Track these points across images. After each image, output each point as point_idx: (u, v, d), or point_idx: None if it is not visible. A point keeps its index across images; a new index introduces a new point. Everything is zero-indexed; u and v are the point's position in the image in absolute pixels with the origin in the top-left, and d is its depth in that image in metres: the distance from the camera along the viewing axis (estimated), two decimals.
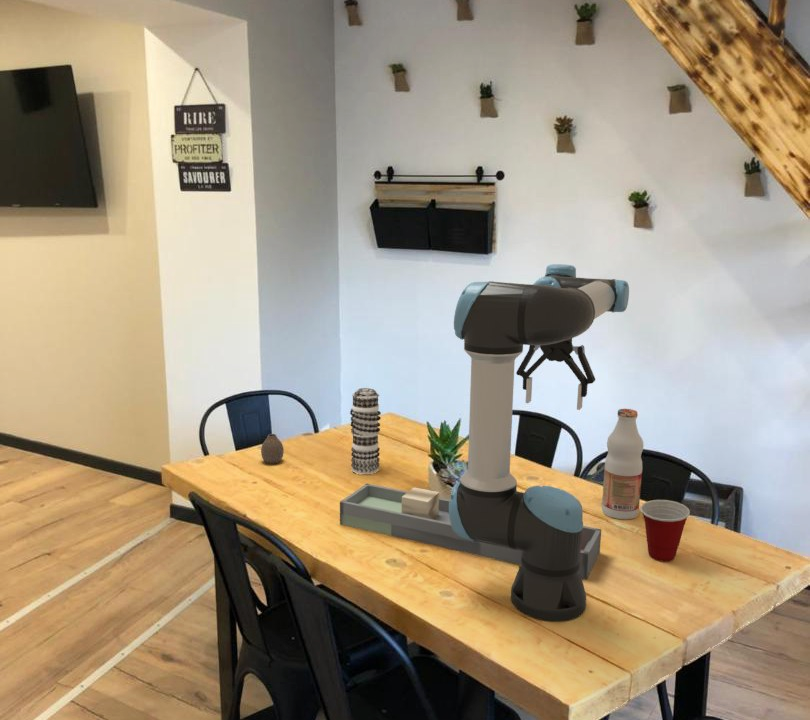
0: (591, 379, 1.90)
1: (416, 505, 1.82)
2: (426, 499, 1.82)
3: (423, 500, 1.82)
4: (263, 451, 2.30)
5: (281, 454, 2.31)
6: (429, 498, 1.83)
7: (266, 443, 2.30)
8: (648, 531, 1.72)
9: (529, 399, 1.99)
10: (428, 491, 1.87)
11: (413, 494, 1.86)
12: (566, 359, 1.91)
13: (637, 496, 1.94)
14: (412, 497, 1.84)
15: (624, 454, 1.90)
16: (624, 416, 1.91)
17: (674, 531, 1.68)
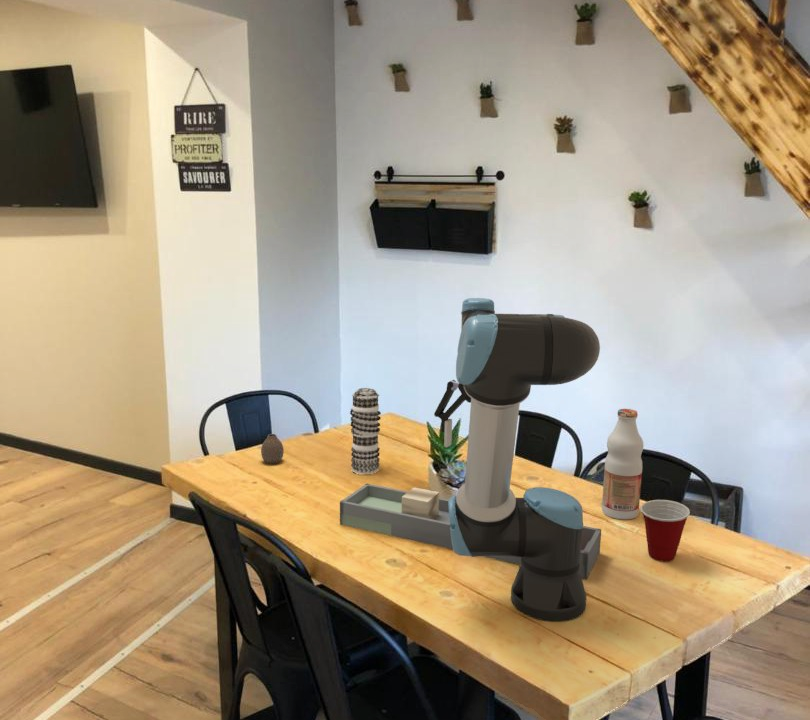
0: None
1: (416, 505, 1.82)
2: (426, 499, 1.82)
3: (423, 500, 1.82)
4: (263, 451, 2.30)
5: (281, 454, 2.31)
6: (429, 498, 1.83)
7: (266, 443, 2.30)
8: (648, 531, 1.72)
9: (448, 443, 1.83)
10: (428, 491, 1.87)
11: (413, 494, 1.86)
12: None
13: (637, 496, 1.94)
14: (412, 497, 1.84)
15: (624, 454, 1.90)
16: (624, 416, 1.91)
17: (674, 531, 1.68)
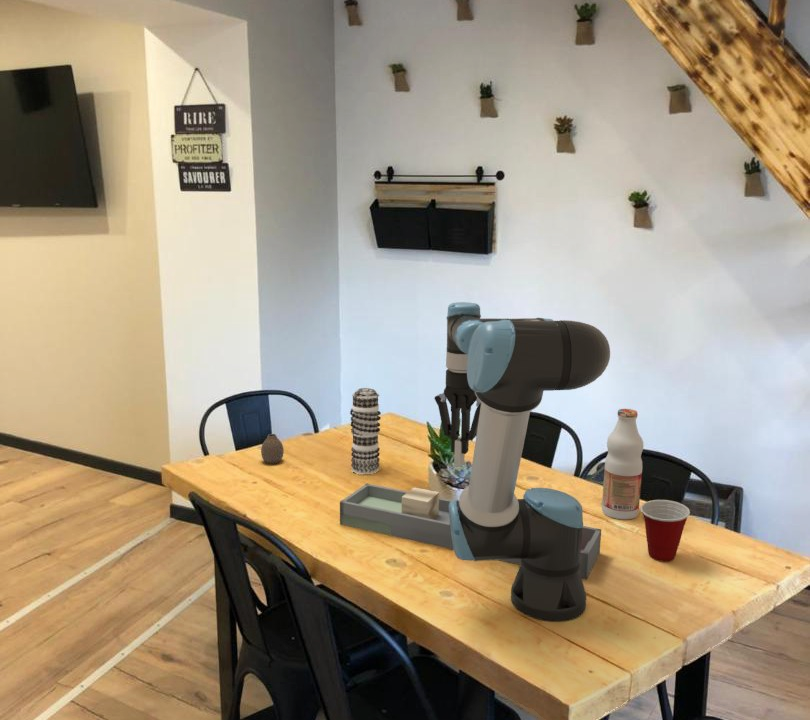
0: (472, 436, 1.75)
1: (416, 505, 1.82)
2: (426, 499, 1.82)
3: (423, 500, 1.82)
4: (263, 451, 2.30)
5: (281, 454, 2.31)
6: (429, 498, 1.83)
7: (266, 443, 2.30)
8: (648, 531, 1.72)
9: None
10: (428, 491, 1.87)
11: (413, 494, 1.86)
12: (464, 409, 1.74)
13: (637, 496, 1.94)
14: (412, 497, 1.84)
15: (624, 454, 1.90)
16: (624, 416, 1.91)
17: (674, 531, 1.68)
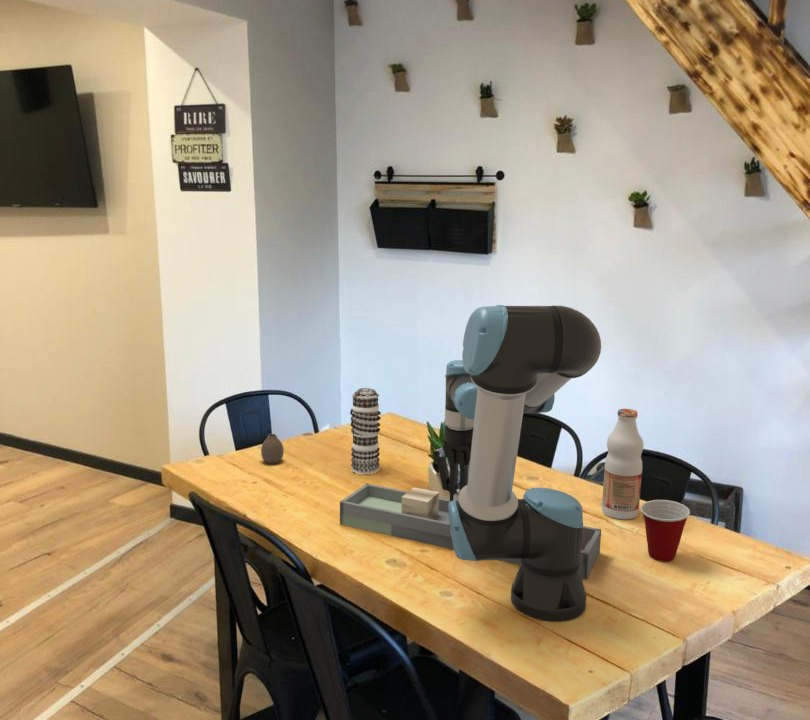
0: None
1: (416, 505, 1.82)
2: (426, 499, 1.82)
3: (423, 500, 1.82)
4: (263, 451, 2.30)
5: (281, 454, 2.31)
6: (429, 498, 1.83)
7: (266, 443, 2.30)
8: (648, 531, 1.72)
9: None
10: (428, 491, 1.87)
11: (413, 494, 1.86)
12: (462, 465, 1.77)
13: (637, 496, 1.94)
14: (412, 497, 1.84)
15: (624, 454, 1.90)
16: (624, 416, 1.91)
17: (674, 531, 1.68)
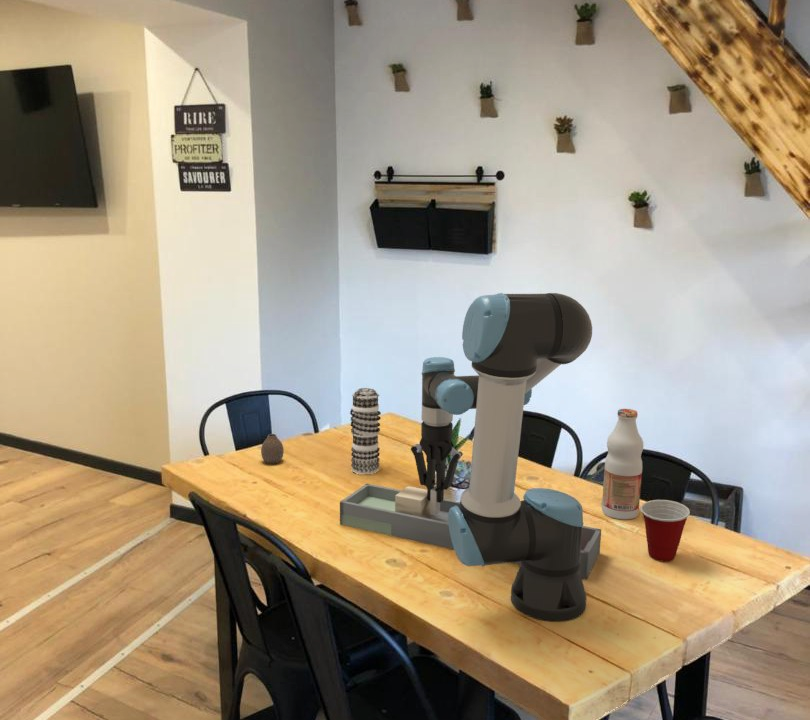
0: (446, 486, 1.81)
1: (409, 503, 1.83)
2: (419, 498, 1.83)
3: (416, 498, 1.83)
4: (263, 451, 2.30)
5: (281, 454, 2.31)
6: (422, 497, 1.84)
7: (266, 443, 2.30)
8: (648, 531, 1.72)
9: None
10: (422, 490, 1.88)
11: (406, 492, 1.86)
12: (438, 460, 1.80)
13: (637, 496, 1.94)
14: (406, 495, 1.84)
15: (624, 454, 1.90)
16: (624, 416, 1.91)
17: (674, 531, 1.68)
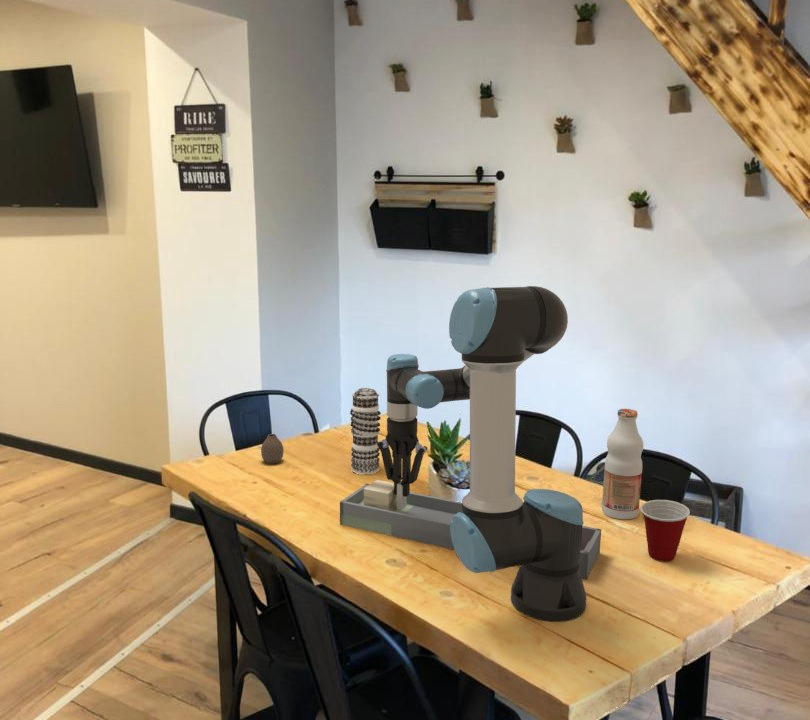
0: (412, 480, 1.84)
1: (377, 496, 1.87)
2: (387, 491, 1.87)
3: (384, 492, 1.87)
4: (263, 451, 2.30)
5: (281, 454, 2.31)
6: (390, 490, 1.88)
7: (266, 443, 2.30)
8: (648, 531, 1.72)
9: None
10: (390, 483, 1.92)
11: (375, 486, 1.90)
12: (404, 455, 1.84)
13: (637, 496, 1.94)
14: (374, 489, 1.89)
15: (624, 454, 1.90)
16: (624, 416, 1.91)
17: (674, 531, 1.68)
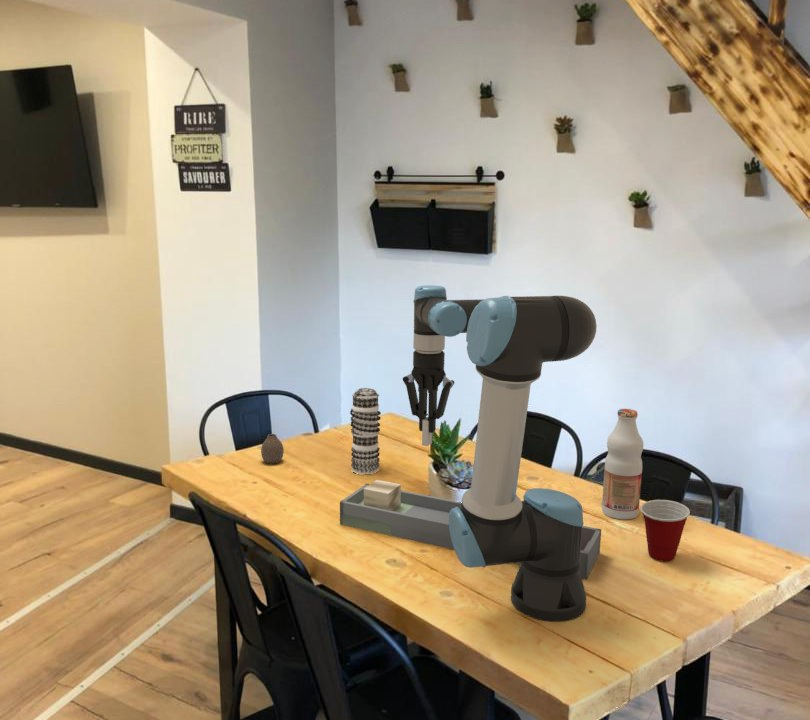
0: (438, 415, 1.80)
1: (377, 496, 1.87)
2: (387, 491, 1.87)
3: (384, 492, 1.87)
4: (263, 451, 2.30)
5: (281, 454, 2.31)
6: (390, 490, 1.88)
7: (266, 443, 2.30)
8: (648, 531, 1.72)
9: None
10: (390, 483, 1.92)
11: (375, 486, 1.90)
12: (430, 389, 1.80)
13: (637, 496, 1.94)
14: (374, 489, 1.89)
15: (624, 454, 1.90)
16: (624, 416, 1.91)
17: (674, 531, 1.68)
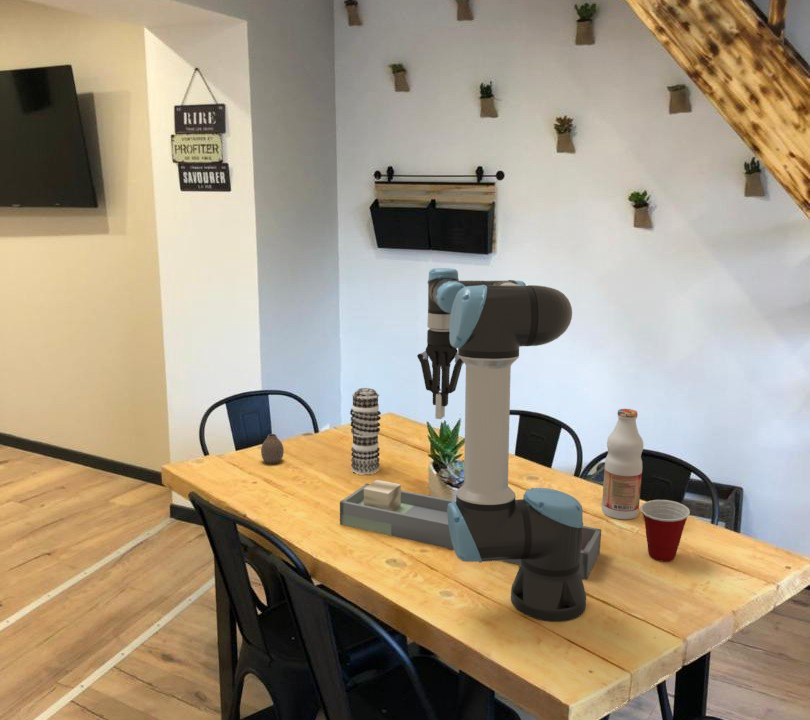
0: (451, 390, 1.93)
1: (377, 496, 1.87)
2: (387, 491, 1.87)
3: (384, 492, 1.87)
4: (263, 451, 2.30)
5: (281, 454, 2.31)
6: (390, 490, 1.88)
7: (266, 443, 2.30)
8: (648, 531, 1.72)
9: None
10: (390, 483, 1.92)
11: (375, 486, 1.90)
12: (443, 365, 1.92)
13: (637, 496, 1.94)
14: (374, 489, 1.89)
15: (624, 454, 1.90)
16: (624, 416, 1.91)
17: (674, 531, 1.68)
